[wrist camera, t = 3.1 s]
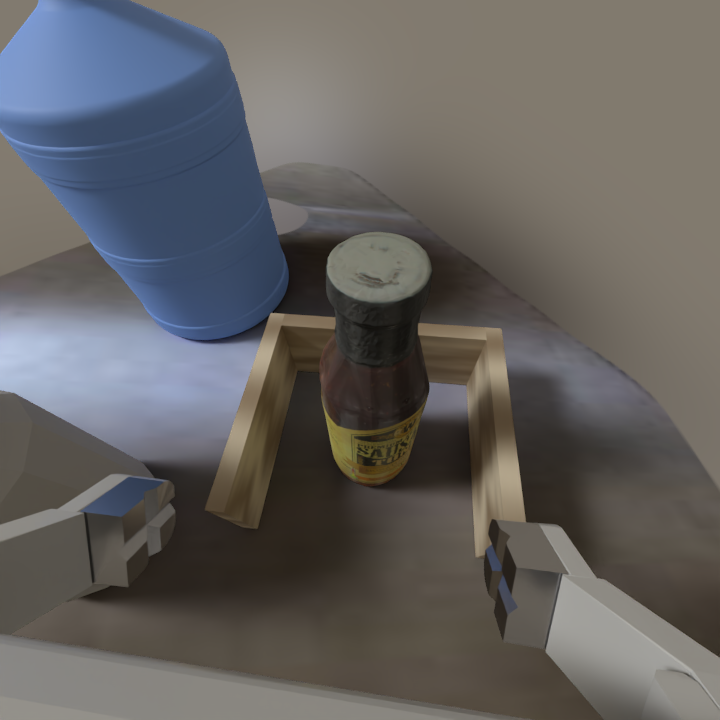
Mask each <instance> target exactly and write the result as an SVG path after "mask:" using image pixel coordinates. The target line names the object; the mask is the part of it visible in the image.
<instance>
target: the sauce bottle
mask: <svg viewBox="0 0 720 720" xmlns="http://www.w3.org/2000/svg"><path fill="white" fill-rule="evenodd" d="M432 273H433V271H432V266H431V262H430V259H429V257H428V255H427V253H426V251H425V250H424V249H423V248H422V247H421V246H420V245H419V244H417V243H416V242H414V241H413V240H411V239H409V238H407V237H404V236H401V235H397V234H394V233H384V232H369V233H364V234H360V235H355V236H353V237H351V238H349V239H347V240H345V241H344V242H342V243H340V244H338V245H337V246H336V247H335V248H334V249H333V250H332V252H331V253H330V255H329V257H328V259H327V265H326V292H327V297H328V300H329V302H330V303H331V305H332V306H333V307H334V311H335V321H336V325H335V329H334V331H335V333H334V334H333V335H332V337H331V338H330V340H329V341H328V342H327V344H326V346H325V347H324V349H323V353H322V356H321V360H320V363H319V375H320V378H319V379H320V382H321V398H322V403H323V408H324V413H325V417H326V422H327V427H328V432H329V437H330V442H331V447H332V452H333V456H334V459H335V461H336V463H337V464H338V466H339V468H340V470H341V472H342V473H343V474H344V475H345V476H346V477H347V478H348V479H349V480H351V481H353V482H355V483H358V484H361V485H363V486H375V485H380V484H383V483H387V482H388V481H390V480H391V479H393V478H395V477H396V475H397V474H398V473H399V472H400V471H401V470H402V469H403V468H404V466H405V465H406V463H407V461H408V458H409V455H410V452H411V449H412V446H413V442H414V439H415V436H416V433H417V429H418V426H419V422H420V419H421V416H422V413H423V410H424V407H425V404H426V401H427V397H428V393H429V380H428V375H427V370H426V366H425V361H424V356H423V352H422V347H421V342H420V338H419V335H418V323H419V318H420V313H421V310H422V309H423V307H424V306H425V304H426V303H427V300H428V296H429V292H430V287H431V279H432Z"/></svg>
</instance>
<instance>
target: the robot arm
mask: <svg viewBox="0 0 720 720" xmlns="http://www.w3.org/2000/svg"><path fill="white" fill-rule="evenodd" d="M174 497H175V491H174V484H173V483H172V482H171V481H169V480H162V479H155V478H148V477H141V476H133V475H126V474H111V475H109V476H108V477H106V478H104V479H103V480H101V481H100V482H98V483H97V484H95V485H94V486H92V487H91V488H89V489H88V490H86V491H85V492H83V493H81V494H80V495H78V496H77V497H75V498H74V499H72V500H71V501H69V502H68V503H66V504H65V505H63V506H62V507H60V508H58V509H48V510H45V511H42V512H39V513H36V514H33V515H29V516H26V517H23V518H20V519H17V520H14V521H10V522H7V523H4V524H1V525H0V720H532V719H526V718H520V717H513V716H507V715H501V714H495V713H488V712H482V711H476V710H470V709H464V708H458V707H452V706H446V705H439V704H433V703H427V702H421V701H415V700H409V699H403V698H397V697H391V696H385V695H379V694H373V693H367V692H361V691H355V690H348V689H342V688H336V687H330V686H324V685H318V684H312V683H306V682H300V681H293V680H287V679H281V678H275V677H269V676H263V675H256V674H250V673H244V672H238V671H232V670H226V669H219V668H213V667H207V666H201V665H195V664H189V663H182V662H176V661H170V660H164V659H158V658H151V657H145V656H139V655H133V654H127V653H121V652H115V651H108V650H102V649H96V648H90V647H84V646H78V645H72V644H65V643H59V642H53V641H47V640H41V639H35V638H29V637H22V636H16V635H10V634H12V633H14V632H15V631H17V630H19V629H20V628H22V627H24V626H25V625H27V624H29V623H30V622H32V621H34V620H35V619H37V618H39V617H40V616H42V615H44V614H45V613H47V612H49V611H50V610H52V609H54V608H55V607H57V606H59V605H60V604H62V603H64V602H65V601H67V600H69V599H70V598H72V597H74V596H75V595H77V594H79V593H80V592H82V591H84V590H85V589H87V588H89V587H90V586H92V585H93V584H92V583H95V584H104V585H113V586H122V587H129V586H130V585H131V584H132V583H133V581H134V580H135V579H136V578H137V577H138V576H139V575H140V574H141V573H142V571H143V570H144V569H145V568H146V567H147V566H148V565H149V556H151V555H153V554H155V553H157V552H159V551H161V550H162V549H163V548H164V547H165V545H166V544H167V543H168V542H169V540H170V538H171V536H172V534H173V532H174V529H175V524H176V511H175V509H174V508H173V507H172V505H171V504H170V502H171V500H172V499H173V498H174ZM488 535H489V538H490V540H491V543H492V544H491V545H490V546H489V547H488V548H487V549H486V550H485V558H484V577H485V583H486V587H487V591H488V594H489V595H490V596H491V597H492V598H493V599H494V600H495V601H496V603H495V609H494V614H495V617H496V621H497V624H498V627H499V630H500V634H501V637H502V640H503V642H507V643H513V644H518V645H524V646H530V647H535V648H541V649H546V651H545V652H546V653H547V654H548V655H549V656H550V657H551V659H552V660H553V661H554V662H555V663H556V664H557V666H558V667H559V668H560V669H561V670H562V671H563V673H564V674H565V675H566V676H567V677H568V678H569V680H570V681H571V682H572V683H573V684H574V685H575V687H576V688H577V689H578V690H579V691H580V692H581V694H582V695H583V696H584V697H585V698H586V699H587V701H588V702H589V703H590V704H591V705H592V706H593V708H594V709H595V710H596V711H597V712H598V713H599V715H600V716H601V717H602V718H603V719H604V720H720V658H719V657H718V656H716V655H715V654H713V653H712V652H710V651H709V650H707V649H706V648H704V647H703V646H701V645H700V644H699V643H697V642H696V641H694V640H693V639H691V638H690V637H688V636H687V635H685V634H684V633H682V632H681V631H679V630H678V629H676V628H675V627H674V626H672V625H671V624H669V623H668V622H666V621H665V620H663V619H662V618H660V617H659V616H657V615H656V614H654V613H653V612H652V611H650V610H649V609H647V608H646V607H644V606H643V605H641V604H640V603H638V602H637V601H635V600H634V599H632V598H631V597H630V596H628V595H627V594H625V593H624V592H622V591H621V590H619V589H618V588H616V587H615V586H613V585H612V584H610V583H609V582H607V581H606V580H605V579H597V578H596V576H595V575H594V573H593V572H592V571H591V569H590V568H589V566H588V565H587V563H586V562H585V560H584V559H583V558H582V556H581V555H580V553H579V552H578V550H577V549H576V548H575V546H574V545H573V543H572V542H571V540H570V539H569V538H568V536H567V535H566V533H565V532H564V530H563V529H562V528H561V527H560V526H558V525H556V524H544V523H528V522H518V521H508V520H498V519H492V520H491V523H490V526H489V531H488Z"/></svg>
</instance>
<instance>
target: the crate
mask: <svg viewBox="0 0 720 720" xmlns="http://www.w3.org/2000/svg"><path fill="white" fill-rule="evenodd" d="M335 325H336V321H335V317H323V316H309V315H294V314H279V313H270V316H269V319H268V322H267V325H266V328H265V331H264V334H263V337H262V340H261V343H260V346H259V349H258V352H257V355H256V358H255V361H254V364H253V367H252V370H251V373H250V376H249V379H248V382H247V385H246V388H245V391H244V394H243V396H242V399H241V402H240V405H239V408H238V411H237V414H236V417H235V420H234V423H233V426H232V429H231V432H230V435H229V438H228V441H227V444H226V447H225V450H224V453H223V456H222V459H221V462H220V465H219V468H218V471H217V474H216V477H215V480H214V483H213V486H212V489H211V492H210V495H209V498H208V501H207V504H206V507H205V510H206V511H208V512H210V513H212V514H214V515H217V516H219V517H221V518H223V519H225V520H227V521H230V522H232V523H234V524H236V525H238V526H240V527H243V528H251V529H258V526H259V522H260V518H261V514H262V510H263V506H264V502H265V498H266V494H267V490H268V486H269V482H270V478H271V474H272V470H273V466H274V462H275V458H276V454H277V450H278V446H279V442H280V439H281V435H282V431H283V427H284V423H285V419H286V415H287V411H288V407H289V403H290V399H291V395H292V391H293V387H294V383H295V379H296V375H297V371H305V372H317V373H319V363H320V360H321V356H322V353H323V349H324V347H325V346H326V344H327V342H328V341H329V340H330V338H331V337H332V335H333V334H334V333H335V331H334V329H335ZM418 335H419V338H420V342H421V347H422V352H423V356H424V361H425V366H426V370H427V375H428V380H429V382H437V383H448V384H460V385H467V403H468V422H469V441H470V460H471V479H472V499H473V518H474V537H475V556H476V558H483V559H484V558H485V550H486V549H487V548H488V547H489V546H490V545H491V544H492V543H491V540H490V538H489V535H488V531H489V526H490V523H491V520H492V519H498V520H508V521H518V522H526V519H525V511H524V503H523V495H522V487H521V479H520V471H519V463H518V456H517V448H516V440H515V432H514V424H513V416H512V408H511V400H510V392H509V384H508V377H507V369H506V361H505V353H504V345H503V337H502V329H499V328H485V327H470V326H455V325H441V324H426V323H418Z"/></svg>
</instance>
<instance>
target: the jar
mask: <svg viewBox="0 0 720 720" xmlns="http://www.w3.org/2000/svg"><path fill="white" fill-rule="evenodd" d="M111 474H126V475H133V476H141V477H148V478H154V476H153V475H152V474H151V473H150V471H149V470H148V469H147V468H146V466H145V465H144V464H143V463H142V462H140V461H139V460H137V459H135V458H133V457H131V456H129V455H127V454H126V453H124V452H122V451H120V450H118V449H116V448H115V447H113V446H111V445H109V444H107V443H105V442H103V441H102V440H100V439H98V438H96V437H94V436H92V435H90V434H89V433H87V432H85V431H83V430H81V429H79V428H78V427H76V426H74V425H72V424H70V423H68V422H66V421H65V420H63V419H61V418H59V417H57V416H55V415H54V414H52V413H50V412H48V411H46V410H44V409H42V408H41V407H39V406H37V405H35V404H33V403H31V402H29V401H28V400H26V399H24V398H22V397H20V396H18V395H17V394H15V393H11V392H5V391H0V525H1V524H4V523H7V522H10V521H14V520H17V519H20V518H23V517H26V516H29V515H33V514H36V513H39V512H42V511H45V510H48V509H58V508H60V507H62V506H63V505H65V504H66V503H68V502H69V501H71V500H72V499H74V498H75V497H77V496H78V495H80V494H81V493H83V492H85V491H86V490H88V489H89V488H91V487H92V486H94V485H95V484H97V483H98V482H100V481H101V480H103V479H104V478H106V477H108V476H109V475H111ZM92 584H93V585H92V586H90V587H89V588H87V589H85V590H84V591H82V592H80V593H79V594H77V595H75V596H74V597H72V598H70V599H69V600H67V601H65V602H68V601H71V600H74V599H77V598H80V597H82V596H85V595H88V594H91V593H93V592H96V591H99V590H102V589H104V588H107V587H109V586H110V585H104V584H95V583H92Z"/></svg>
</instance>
